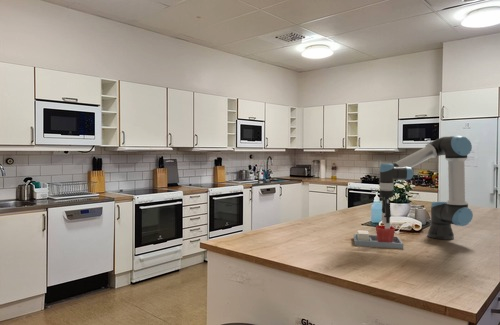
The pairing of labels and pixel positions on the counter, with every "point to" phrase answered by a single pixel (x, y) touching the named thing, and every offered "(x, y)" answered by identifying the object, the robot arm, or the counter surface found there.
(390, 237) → the flower pot
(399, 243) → the grey tray
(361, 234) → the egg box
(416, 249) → the counter surface
